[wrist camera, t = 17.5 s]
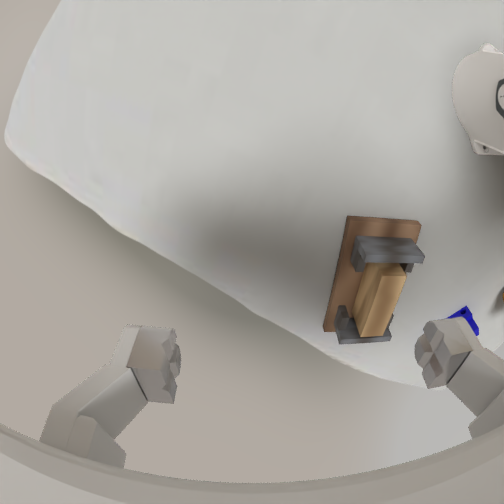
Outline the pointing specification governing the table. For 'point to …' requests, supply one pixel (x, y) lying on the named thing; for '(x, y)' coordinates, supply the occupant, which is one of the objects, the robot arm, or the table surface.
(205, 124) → the table surface
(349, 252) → the wooden clamp fixture
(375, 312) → the top rail
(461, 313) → the cable clip
